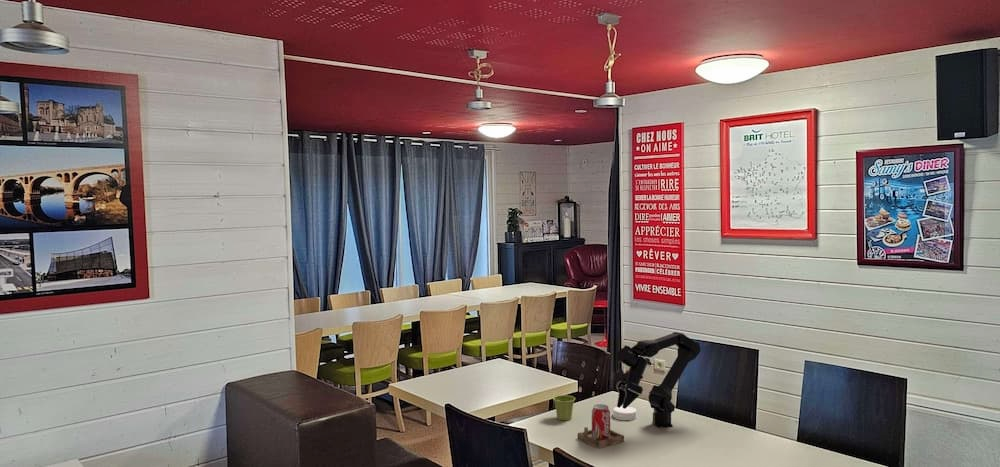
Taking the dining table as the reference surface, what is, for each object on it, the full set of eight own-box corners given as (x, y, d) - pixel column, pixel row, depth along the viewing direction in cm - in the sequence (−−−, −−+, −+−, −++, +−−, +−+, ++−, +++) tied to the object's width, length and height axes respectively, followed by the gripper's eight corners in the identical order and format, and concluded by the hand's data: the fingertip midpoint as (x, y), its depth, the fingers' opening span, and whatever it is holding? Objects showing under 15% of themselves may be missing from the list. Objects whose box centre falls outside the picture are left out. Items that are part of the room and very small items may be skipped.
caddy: (603, 432, 253) (603, 419, 253) (624, 441, 242) (624, 428, 242) (577, 438, 246) (577, 425, 246) (597, 448, 236) (597, 435, 236)
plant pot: (549, 416, 272) (549, 396, 272) (568, 413, 276) (567, 393, 276) (560, 423, 264) (560, 402, 263) (579, 420, 268) (579, 399, 267)
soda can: (599, 442, 239) (599, 410, 239) (587, 436, 246) (587, 405, 245) (614, 438, 243) (614, 407, 242) (602, 433, 249) (602, 402, 249)
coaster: (636, 421, 265) (636, 413, 265) (612, 420, 267) (612, 412, 267) (636, 414, 275) (636, 406, 275) (613, 412, 277) (613, 405, 277)
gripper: (612, 362, 262) (597, 397, 259) (623, 361, 244) (607, 399, 241) (637, 374, 262) (622, 410, 258) (649, 374, 244) (634, 412, 240)
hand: (620, 407), depth 249 cm, fingers open, 9 cm apart
